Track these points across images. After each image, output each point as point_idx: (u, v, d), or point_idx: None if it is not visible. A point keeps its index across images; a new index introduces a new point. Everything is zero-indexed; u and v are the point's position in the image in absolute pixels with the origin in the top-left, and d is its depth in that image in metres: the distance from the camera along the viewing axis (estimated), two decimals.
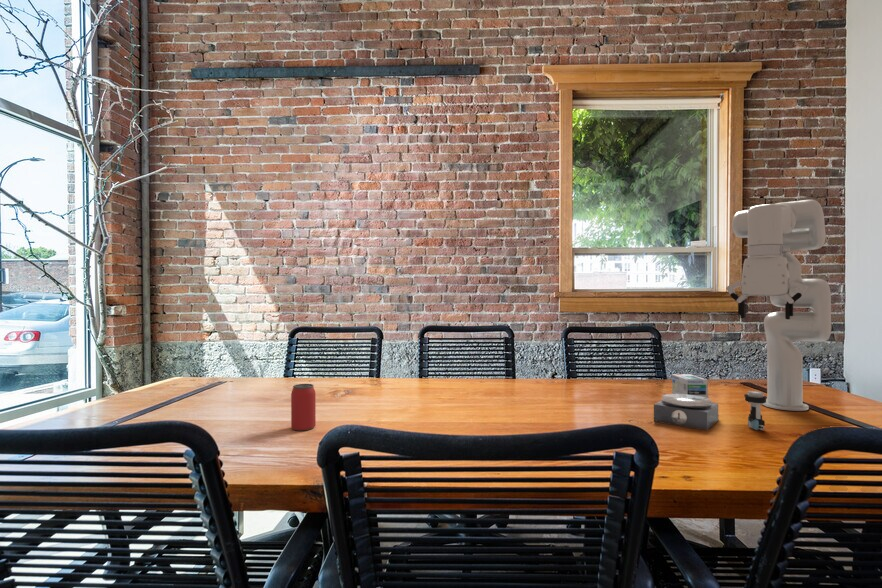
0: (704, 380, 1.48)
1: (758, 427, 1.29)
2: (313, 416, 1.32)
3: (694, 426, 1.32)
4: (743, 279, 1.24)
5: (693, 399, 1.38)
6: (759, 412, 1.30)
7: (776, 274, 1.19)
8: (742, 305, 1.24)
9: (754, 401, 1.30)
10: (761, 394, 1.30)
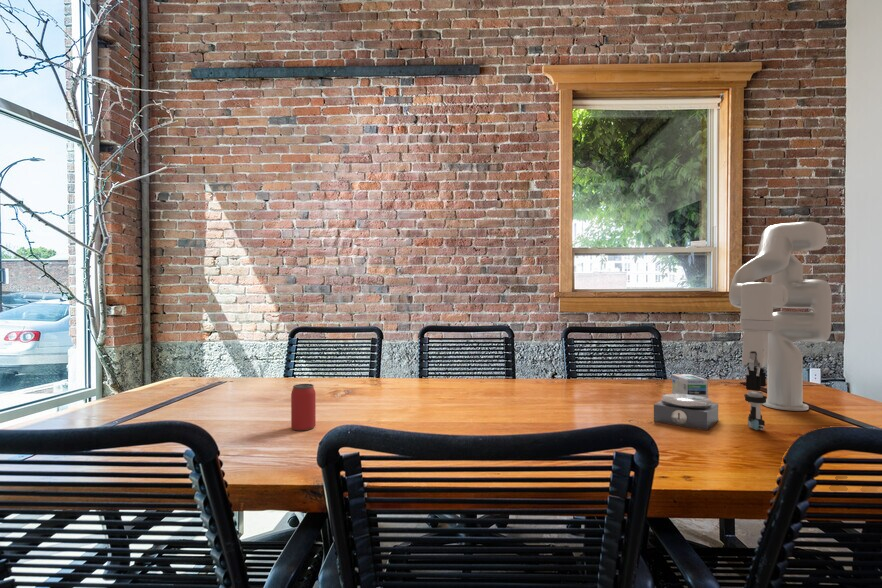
0: (704, 380, 1.48)
1: (758, 427, 1.29)
2: (313, 416, 1.32)
3: (694, 426, 1.32)
4: (762, 353, 1.26)
5: (693, 399, 1.38)
6: (759, 412, 1.30)
7: None
8: (760, 378, 1.26)
9: (754, 401, 1.30)
10: (761, 394, 1.30)
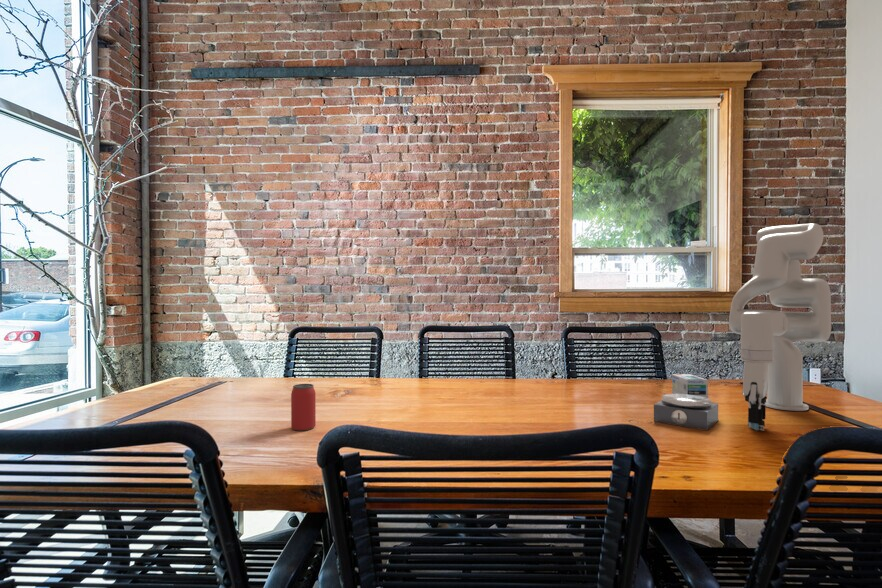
0: (704, 380, 1.48)
1: (758, 427, 1.29)
2: (313, 416, 1.32)
3: (694, 426, 1.32)
4: (763, 383, 1.27)
5: (693, 399, 1.38)
6: None
7: None
8: (762, 411, 1.28)
9: None
10: None
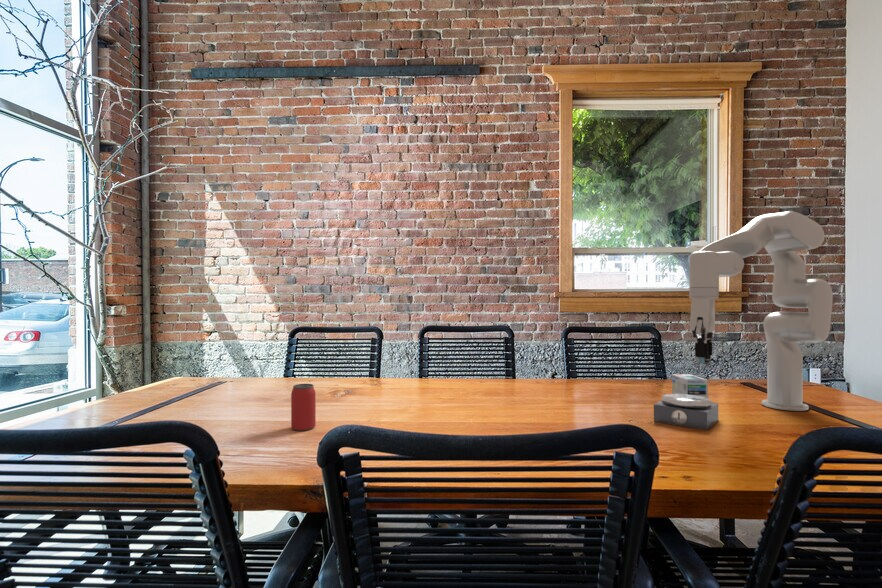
0: (704, 380, 1.48)
1: (704, 361, 1.35)
2: (313, 416, 1.32)
3: (694, 426, 1.32)
4: (708, 318, 1.32)
5: (693, 399, 1.38)
6: None
7: (714, 313, 1.38)
8: (707, 345, 1.34)
9: None
10: None
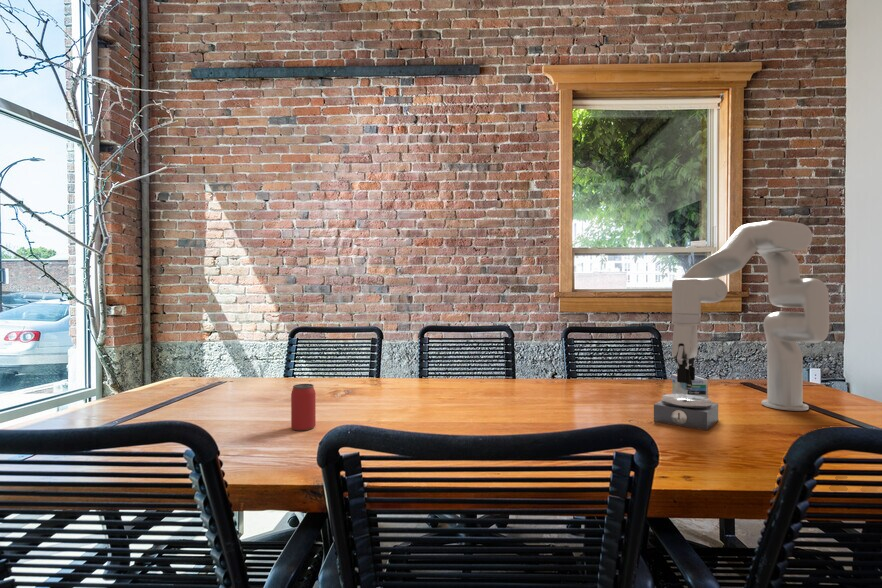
0: (704, 380, 1.48)
1: (686, 387, 1.37)
2: (313, 416, 1.32)
3: (694, 426, 1.32)
4: (689, 344, 1.35)
5: (693, 399, 1.38)
6: None
7: (697, 339, 1.40)
8: (689, 371, 1.36)
9: None
10: None
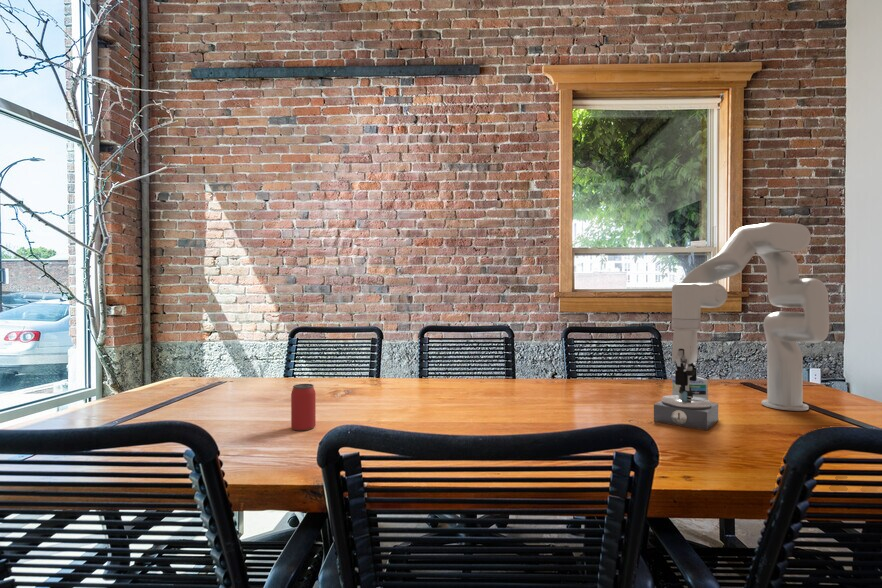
0: (704, 380, 1.48)
1: (687, 398, 1.37)
2: (313, 416, 1.32)
3: (694, 426, 1.32)
4: (689, 350, 1.35)
5: (693, 400, 1.38)
6: (688, 384, 1.38)
7: (697, 344, 1.40)
8: (687, 374, 1.35)
9: None
10: (690, 367, 1.38)
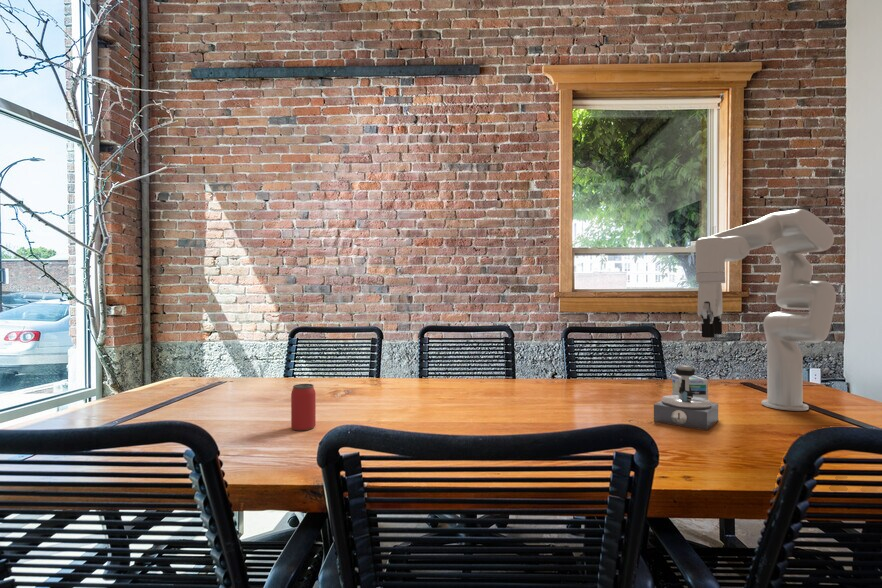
0: (704, 380, 1.48)
1: (687, 398, 1.37)
2: (313, 416, 1.32)
3: (694, 426, 1.32)
4: (715, 302, 1.36)
5: (693, 400, 1.38)
6: (688, 384, 1.38)
7: None
8: (713, 326, 1.36)
9: (683, 374, 1.38)
10: (690, 367, 1.38)
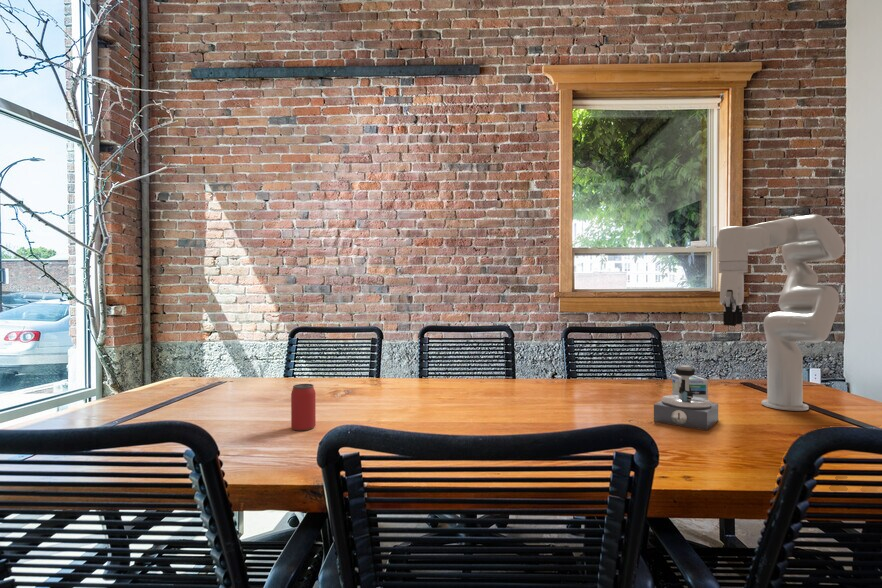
0: (704, 380, 1.48)
1: (687, 398, 1.37)
2: (313, 416, 1.32)
3: (694, 426, 1.32)
4: (738, 290, 1.37)
5: (693, 400, 1.38)
6: (688, 384, 1.38)
7: (743, 287, 1.42)
8: (736, 314, 1.37)
9: (683, 374, 1.38)
10: (690, 367, 1.38)
